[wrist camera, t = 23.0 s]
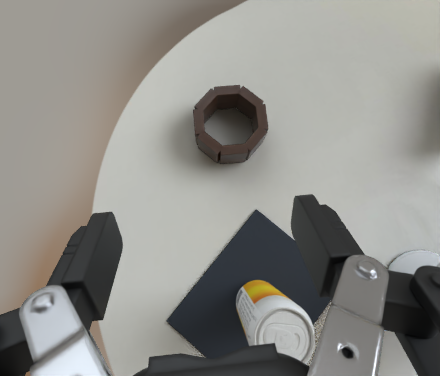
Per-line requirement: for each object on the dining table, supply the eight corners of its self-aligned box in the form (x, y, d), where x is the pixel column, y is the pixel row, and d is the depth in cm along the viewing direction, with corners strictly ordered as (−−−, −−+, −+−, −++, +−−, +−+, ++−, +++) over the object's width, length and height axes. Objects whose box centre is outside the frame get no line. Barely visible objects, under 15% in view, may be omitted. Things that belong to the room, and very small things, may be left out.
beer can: (274, 329, 38) (313, 386, 23) (231, 319, 38) (242, 369, 23) (282, 284, 39) (324, 311, 24) (240, 274, 39) (257, 295, 24)
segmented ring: (233, 176, 42) (236, 169, 38) (182, 134, 43) (178, 123, 39) (274, 127, 44) (281, 115, 39) (224, 88, 45) (225, 72, 40)
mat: (257, 402, 37) (257, 403, 36) (166, 320, 38) (166, 321, 38) (342, 280, 40) (344, 280, 39) (256, 209, 41) (256, 209, 41)
